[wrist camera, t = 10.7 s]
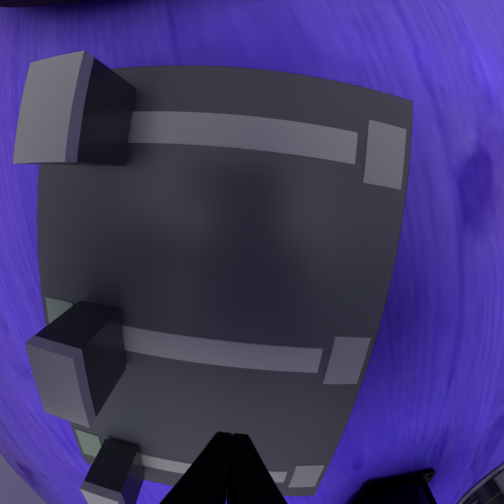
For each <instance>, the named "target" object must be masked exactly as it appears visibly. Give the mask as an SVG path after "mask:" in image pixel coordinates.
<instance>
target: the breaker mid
mask: <svg viewBox="0 0 504 504" xmlns="http://www.w3.org/2000/svg"><path fill="white" fill-rule="evenodd" d="M25 345H26V349H27V353H28V357H29V361H30V365H31V369H32V372H33V376H34V379H35V383H36V386H37V389H38V392H39V396H40V399H41V402H42V404H43V407H44V410H45V412H47V413H50V414H52V415H55V416H57V417H60V418H63V419H65V420H68V421H71V422H74V423H76V424H79V425H82V426H85V427H88V428H90V427H91V425H92V424H93V422H94V420H95V419H96V417H97V415H98V414H99V412H100V410H101V409H102V407H103V405H104V404H105V402H106V400H107V399H108V397H109V396H110V394H111V392H112V391H113V389H114V388H115V386H116V384H117V383H118V381H119V379H120V378H121V376H122V375H123V373H124V372H125V370H126V366H125V356H124V345H123V333H122V317H121V308H117V307H111V306H106V305H100V304H95V303H90V302H85V301H78V302H77V303H76V304H74V305H73V306H72V307H70V308H69V309H68V310H67V311H65V312H64V313H63V314H61V315H60V316H59V317H57V318H56V319H55V320H54V321H52V322H51V323H50V324H49V325H47V326H46V327H45V328H43V329H42V330H41V331H40V332H38V333H37V334H36V335H35V336H33V337H32V338H31V339H30V340H28V341H27V342H26V343H25Z"/></svg>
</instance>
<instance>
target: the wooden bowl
mask: <svg viewBox="0 0 504 504" xmlns="http://www.w3.org/2000/svg"><path fill="white" fill-rule="evenodd" d="M77 1H82V0H0V7H35V6H48V5H56V4H63V3H70V2H77Z"/></svg>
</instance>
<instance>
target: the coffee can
mask: <svg viewBox="0 0 504 504" xmlns="http://www.w3.org/2000/svg"><path fill="white" fill-rule="evenodd" d="M458 504H504V463H503V464H502V465H500V466H499V467H497V468H496V469H495V470H493V471H492V472H491V473H490V474H488V475H487V476H486V477H485V478H483V479H482V480H481V481H480V482H478V483H477V484H476V485H475V486H474V487H473V488H472V489H471V490H469V491H468V492H467V493H466V494H465V495H464V496H463V497H462V499H461V500H460V501H459V502H458Z"/></svg>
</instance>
